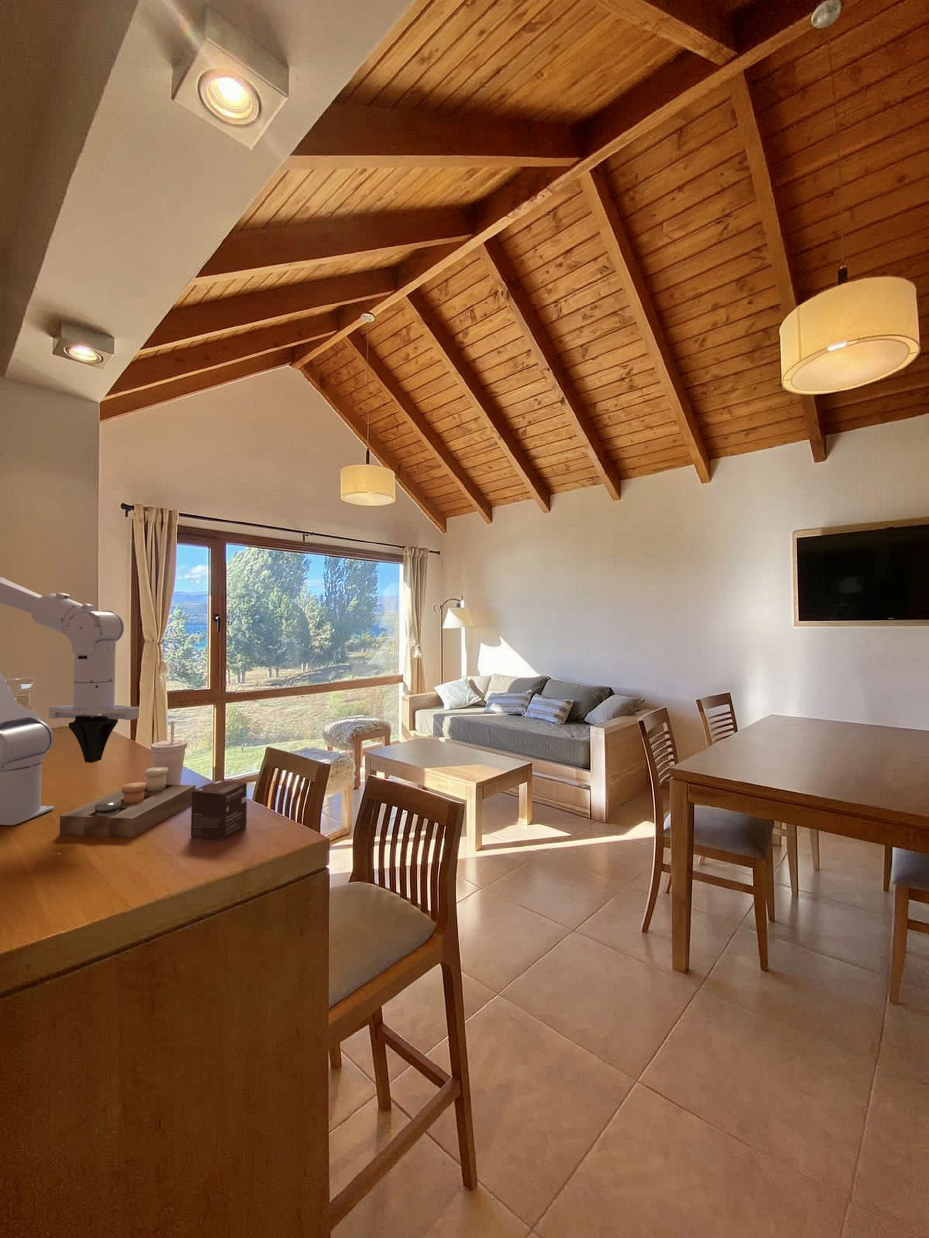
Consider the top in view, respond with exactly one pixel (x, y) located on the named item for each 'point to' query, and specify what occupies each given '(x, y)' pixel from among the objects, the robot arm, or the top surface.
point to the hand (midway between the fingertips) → (93, 761)
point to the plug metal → (108, 807)
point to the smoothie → (170, 757)
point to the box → (218, 809)
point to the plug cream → (156, 779)
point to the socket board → (127, 813)
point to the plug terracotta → (134, 792)
